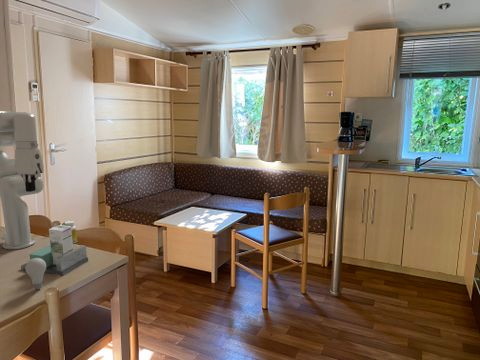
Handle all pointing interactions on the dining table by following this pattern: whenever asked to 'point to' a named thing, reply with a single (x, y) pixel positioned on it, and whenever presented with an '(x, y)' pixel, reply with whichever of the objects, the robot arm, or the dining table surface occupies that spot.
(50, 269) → the base
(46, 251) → the teal green rectangular block
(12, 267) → the dining table surface
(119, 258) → the dining table surface
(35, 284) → the lightbulb
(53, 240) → the syrup box
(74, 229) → the supplement bottle
